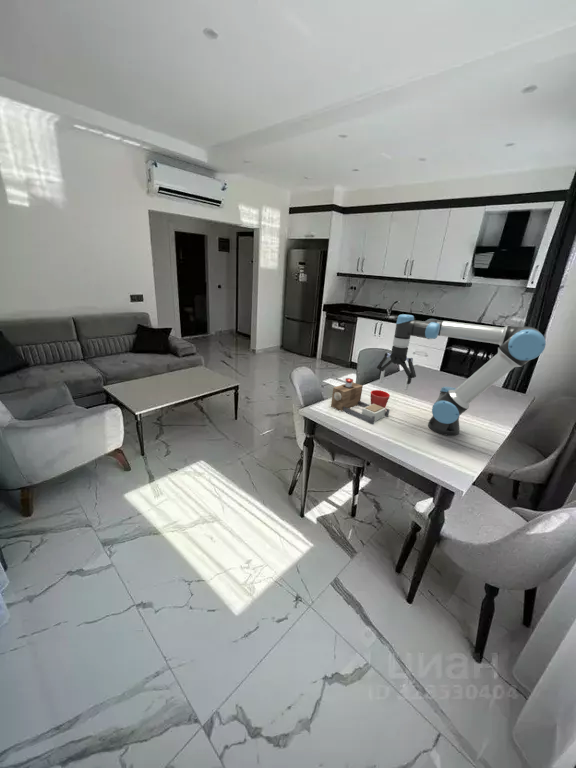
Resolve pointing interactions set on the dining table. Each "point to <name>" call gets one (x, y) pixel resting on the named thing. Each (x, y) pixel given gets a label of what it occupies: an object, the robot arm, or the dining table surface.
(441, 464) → the dining table surface
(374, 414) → the block
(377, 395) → the flower pot
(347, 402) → the end cabinet
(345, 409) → the rail channel
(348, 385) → the cylinder
